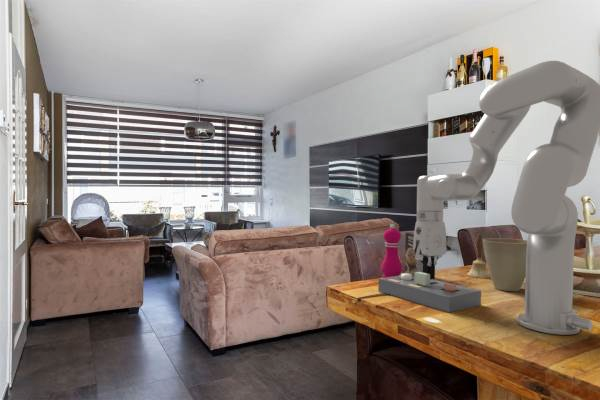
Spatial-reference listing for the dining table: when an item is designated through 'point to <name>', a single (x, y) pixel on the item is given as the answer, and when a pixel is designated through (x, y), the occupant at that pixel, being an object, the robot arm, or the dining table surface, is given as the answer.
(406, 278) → the off white button
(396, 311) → the dining table surface
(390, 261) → the pepper mill
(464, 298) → the switch panel
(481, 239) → the hand bell
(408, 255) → the coffee box
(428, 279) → the pale green block
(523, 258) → the plant pot
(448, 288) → the terracotta button
